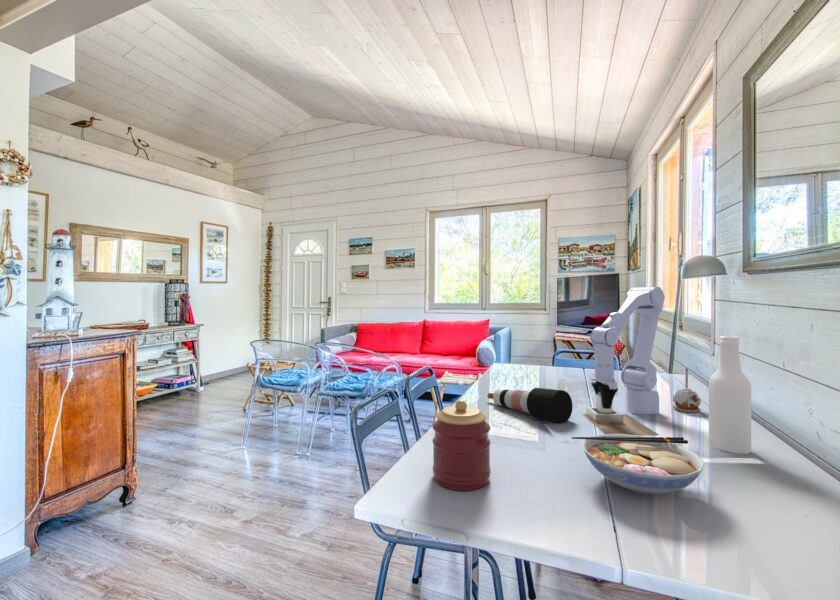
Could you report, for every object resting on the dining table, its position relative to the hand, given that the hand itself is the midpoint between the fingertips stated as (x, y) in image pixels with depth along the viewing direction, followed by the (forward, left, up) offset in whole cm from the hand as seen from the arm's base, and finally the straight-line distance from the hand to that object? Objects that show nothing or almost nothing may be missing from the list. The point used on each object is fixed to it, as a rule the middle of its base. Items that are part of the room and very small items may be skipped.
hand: (604, 406), depth 128 cm
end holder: (0, 0, -4) cm, 4 cm away
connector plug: (0, 0, -1) cm, 1 cm away
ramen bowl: (+10, +44, -5) cm, 45 cm away
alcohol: (-23, +23, -5) cm, 33 cm away
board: (-2, +5, -5) cm, 7 cm away
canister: (+48, +42, -5) cm, 64 cm away
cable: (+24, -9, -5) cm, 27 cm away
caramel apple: (-34, -14, -5) cm, 37 cm away
